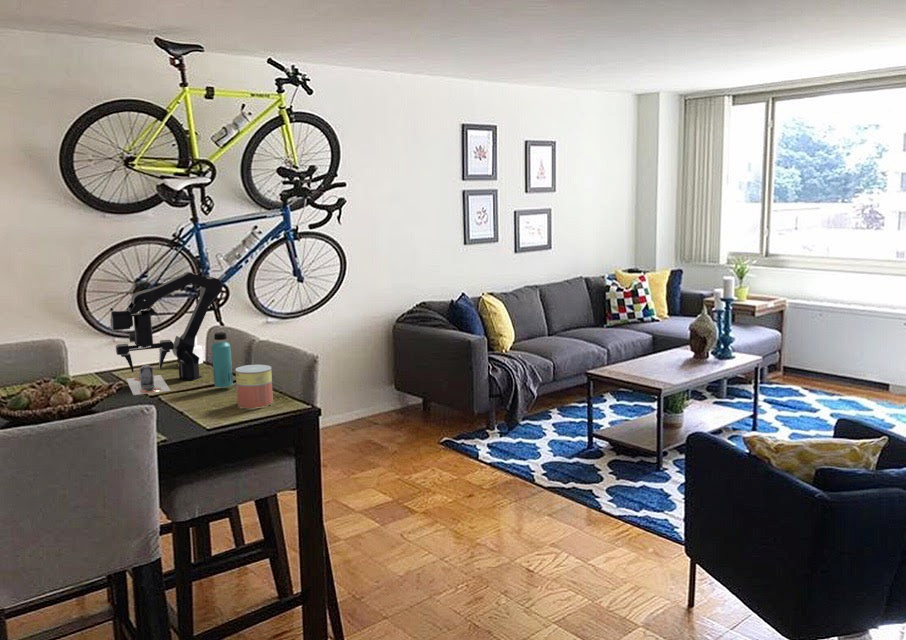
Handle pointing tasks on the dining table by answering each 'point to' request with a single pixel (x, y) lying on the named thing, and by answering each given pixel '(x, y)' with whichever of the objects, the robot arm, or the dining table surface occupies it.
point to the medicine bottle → (196, 352)
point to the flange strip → (144, 389)
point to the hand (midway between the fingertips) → (146, 370)
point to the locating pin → (146, 375)
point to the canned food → (254, 385)
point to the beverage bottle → (222, 361)
